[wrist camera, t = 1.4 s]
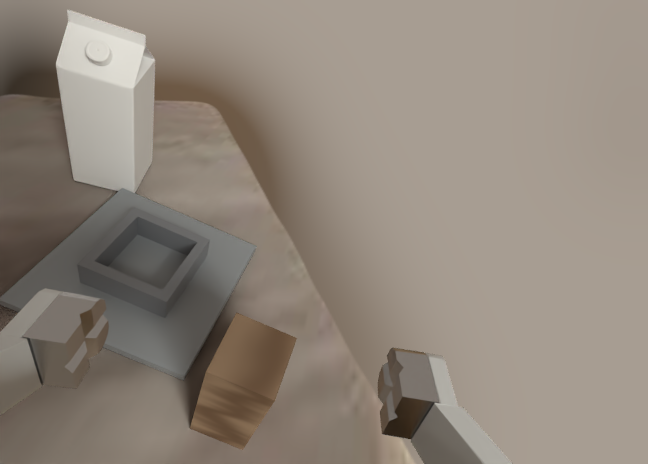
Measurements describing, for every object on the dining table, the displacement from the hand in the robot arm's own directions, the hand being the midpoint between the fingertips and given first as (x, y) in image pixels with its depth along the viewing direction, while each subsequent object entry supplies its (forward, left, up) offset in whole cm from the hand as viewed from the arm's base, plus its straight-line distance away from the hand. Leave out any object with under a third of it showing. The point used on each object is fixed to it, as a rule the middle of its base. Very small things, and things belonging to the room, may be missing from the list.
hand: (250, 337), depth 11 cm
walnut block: (0, +8, -28) cm, 29 cm away
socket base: (-14, +18, -28) cm, 36 cm away
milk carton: (-26, +30, -28) cm, 48 cm away
